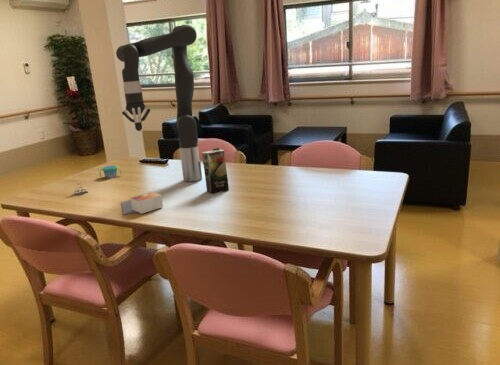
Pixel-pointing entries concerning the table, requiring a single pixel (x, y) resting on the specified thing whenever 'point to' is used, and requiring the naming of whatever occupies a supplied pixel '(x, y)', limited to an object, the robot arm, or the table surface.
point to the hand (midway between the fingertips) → (139, 130)
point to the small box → (146, 202)
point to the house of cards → (79, 190)
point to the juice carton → (215, 171)
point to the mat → (127, 208)
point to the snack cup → (110, 171)
